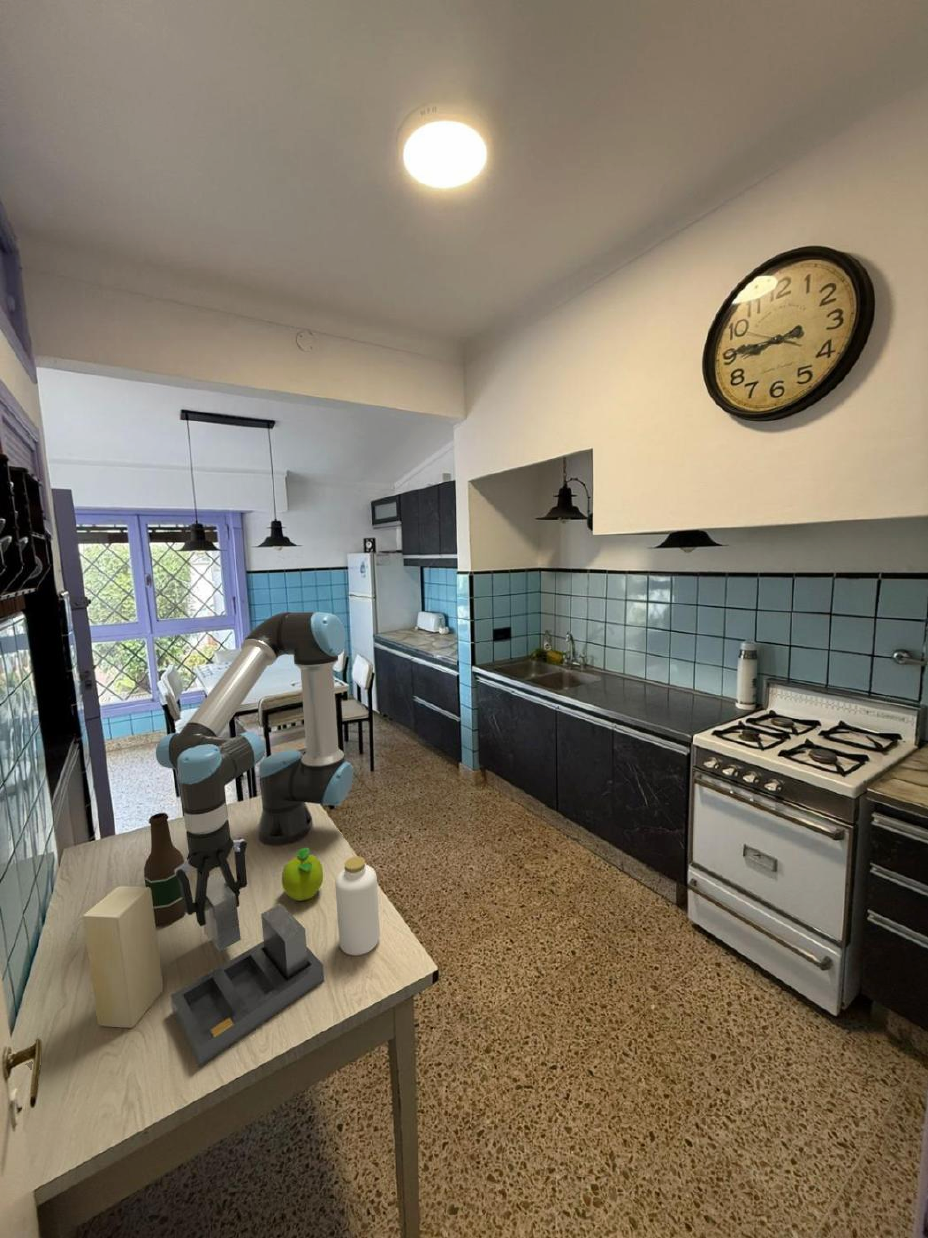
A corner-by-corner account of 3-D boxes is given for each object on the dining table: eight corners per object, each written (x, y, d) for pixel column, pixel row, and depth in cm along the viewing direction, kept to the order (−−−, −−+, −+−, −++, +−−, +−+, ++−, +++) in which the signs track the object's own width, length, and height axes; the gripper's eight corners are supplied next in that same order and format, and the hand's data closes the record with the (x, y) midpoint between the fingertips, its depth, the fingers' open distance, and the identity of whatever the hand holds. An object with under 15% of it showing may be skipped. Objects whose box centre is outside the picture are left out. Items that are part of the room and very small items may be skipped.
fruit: (323, 879, 124) (320, 842, 122) (324, 904, 115) (322, 864, 114) (284, 887, 121) (281, 849, 120) (282, 913, 112) (279, 873, 111)
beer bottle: (171, 929, 108) (159, 826, 105) (141, 925, 110) (128, 823, 107) (197, 904, 116) (186, 808, 113) (168, 900, 117) (157, 805, 114)
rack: (289, 941, 104) (285, 893, 102) (324, 981, 94) (320, 928, 93) (172, 1012, 88) (166, 957, 87) (199, 1068, 79) (192, 1007, 77)
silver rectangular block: (222, 914, 107) (217, 872, 105) (240, 939, 100) (235, 895, 98) (202, 925, 104) (196, 882, 102) (220, 951, 97) (214, 906, 95)
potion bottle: (388, 941, 103) (383, 861, 101) (353, 965, 97) (348, 881, 95) (365, 921, 109) (360, 845, 107) (331, 943, 103) (326, 863, 101)
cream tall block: (128, 986, 94) (114, 885, 91) (164, 989, 93) (151, 886, 90) (93, 1026, 86) (77, 916, 83) (132, 1029, 85) (117, 918, 83)
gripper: (243, 800, 107) (254, 898, 110) (152, 836, 95) (168, 944, 98) (258, 813, 101) (269, 915, 105) (164, 852, 89) (180, 966, 93)
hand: (220, 929), depth 102 cm, fingers closed on silver rectangular block, 4 cm apart
